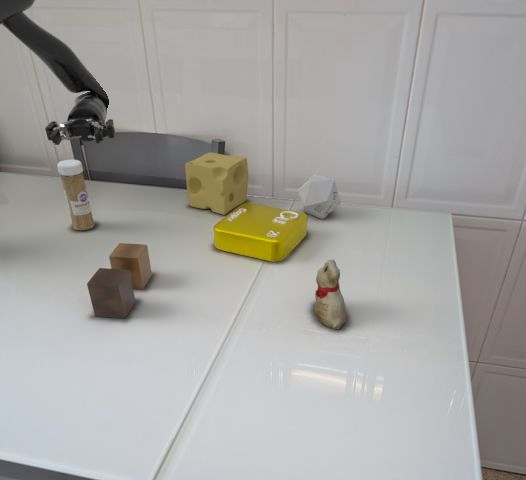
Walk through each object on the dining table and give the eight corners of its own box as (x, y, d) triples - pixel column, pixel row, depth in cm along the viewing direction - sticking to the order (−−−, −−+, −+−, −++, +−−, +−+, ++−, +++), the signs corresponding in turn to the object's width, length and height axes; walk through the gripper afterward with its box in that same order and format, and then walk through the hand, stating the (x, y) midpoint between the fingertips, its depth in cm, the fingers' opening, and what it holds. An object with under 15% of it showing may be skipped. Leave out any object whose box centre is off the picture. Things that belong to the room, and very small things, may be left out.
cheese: (225, 216, 110) (222, 170, 103) (185, 206, 114) (181, 162, 108) (249, 200, 117) (248, 157, 111) (211, 192, 121) (208, 149, 115)
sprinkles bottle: (86, 232, 103) (70, 167, 95) (68, 229, 104) (51, 164, 96) (99, 224, 106) (85, 160, 98) (81, 220, 108) (66, 157, 99)
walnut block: (94, 316, 79) (86, 283, 75) (106, 299, 83) (99, 267, 79) (125, 318, 78) (118, 286, 75) (135, 301, 82) (129, 269, 78)
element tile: (245, 220, 108) (244, 198, 105) (309, 232, 103) (310, 210, 100) (210, 248, 97) (209, 225, 94) (280, 264, 92) (281, 240, 89)
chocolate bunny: (349, 303, 82) (356, 248, 76) (343, 330, 76) (350, 273, 70) (316, 299, 83) (320, 244, 77) (307, 325, 77) (311, 268, 71)
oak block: (115, 287, 86) (108, 256, 82) (125, 273, 90) (119, 242, 86) (143, 289, 85) (137, 258, 82) (152, 275, 89) (147, 244, 85)
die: (302, 226, 107) (333, 193, 101) (283, 195, 109) (312, 160, 103) (325, 228, 113) (356, 197, 107) (306, 199, 116) (335, 166, 109)
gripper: (52, 103, 114) (36, 121, 102) (115, 101, 116) (107, 119, 103) (60, 137, 119) (46, 158, 106) (120, 135, 120) (114, 156, 108)
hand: (76, 139), depth 105 cm, fingers open, 8 cm apart
